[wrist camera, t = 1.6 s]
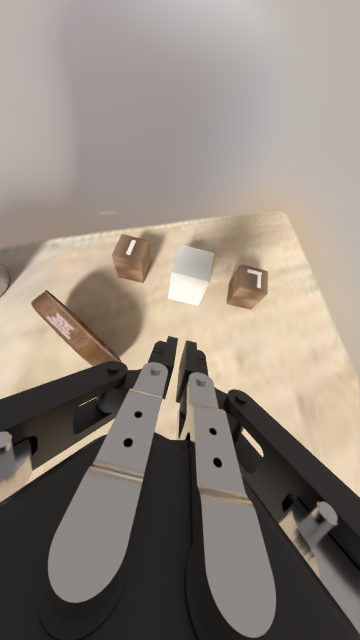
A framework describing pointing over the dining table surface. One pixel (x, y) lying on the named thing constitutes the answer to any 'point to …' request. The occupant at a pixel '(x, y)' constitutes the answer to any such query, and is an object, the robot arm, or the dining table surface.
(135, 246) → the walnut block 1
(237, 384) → the dining table surface
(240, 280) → the walnut block
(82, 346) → the tin
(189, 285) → the plain block
